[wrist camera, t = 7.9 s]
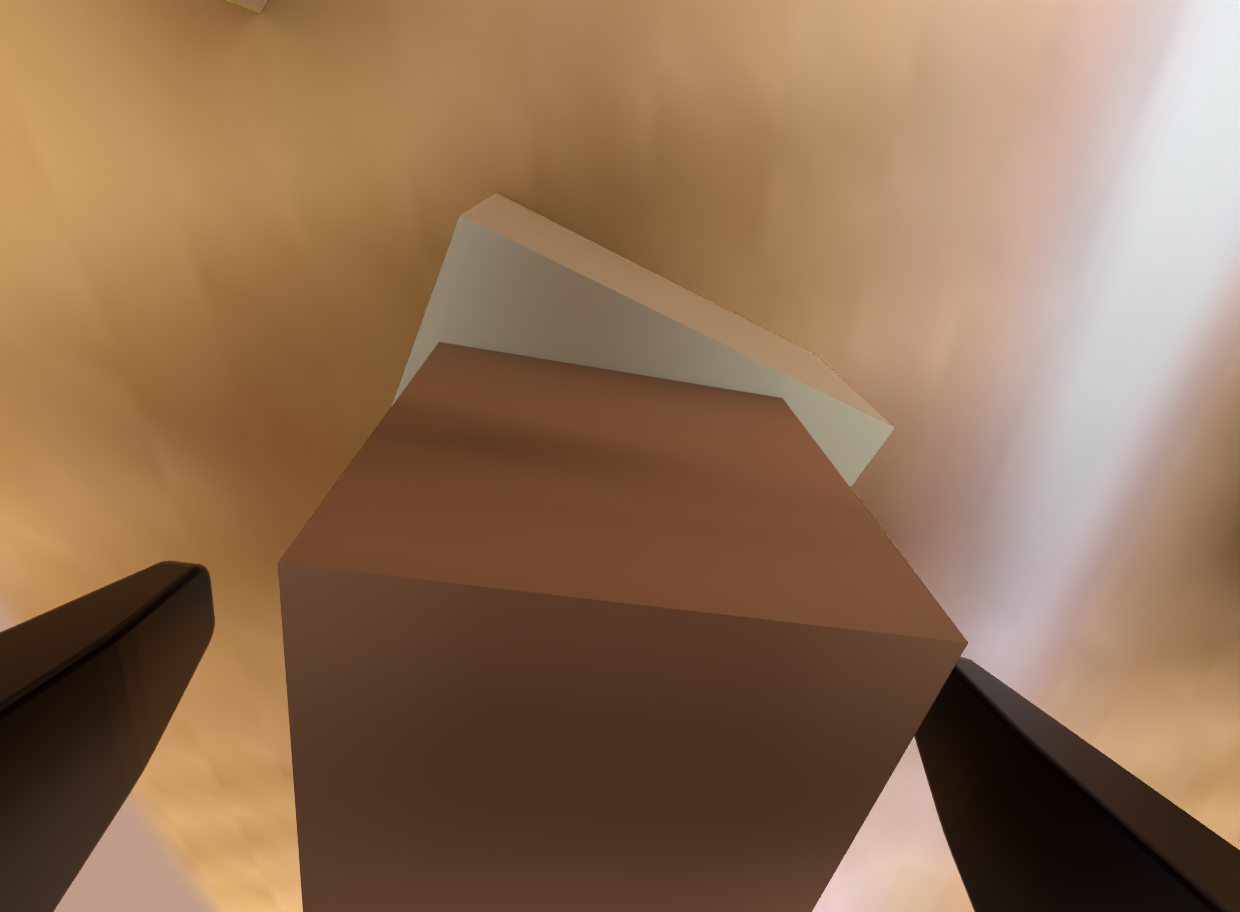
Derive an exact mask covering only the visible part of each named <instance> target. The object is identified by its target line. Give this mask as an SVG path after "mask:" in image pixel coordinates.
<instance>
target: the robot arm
mask: <svg viewBox="0 0 1240 912" xmlns="http://www.w3.org/2000/svg"><path fill="white" fill-rule="evenodd" d="M214 626H215V616H214V607H213V598H212V589H211V580H210V574H209V571H208V570H207V568H206V567H205V566H203V565H200V564H194V563H186V562H178V561H163V562H160V563H157V564H155V565H153V566H150V567H148V568H146V569H143V570H141V571H139V572H137V573H134V574H132V575H130V576H128V577H125V578H123V579H121V580H118V581H116V582H114V583H112V584H109V585H107V586H105V587H103V588H100V589H98V590H96V591H93V592H91V593H89V594H87V595H84V596H82V597H80V598H77V599H75V600H73V601H71V602H68V603H66V604H64V605H62V606H59V607H57V608H55V609H52V610H50V611H48V612H46V613H43V614H41V615H39V616H37V617H34V618H32V619H30V620H27V621H25V622H23V623H21V624H18V625H16V626H14V627H12V628H9V629H7V630H5V631H2V632H0V912H54V910H55V909H56V907H57V905H58V904H59V902H60V901H61V899H62V897H63V896H64V894H65V893H66V891H67V890H68V888H69V887H70V885H71V884H72V882H73V881H74V879H75V878H76V876H77V874H78V873H79V871H80V870H81V868H82V867H83V865H84V864H85V862H86V860H87V859H88V857H89V856H90V854H91V853H92V851H93V850H94V848H95V846H96V845H97V843H98V842H99V840H100V839H101V837H102V836H103V834H104V833H105V831H106V829H107V828H108V826H109V825H110V823H111V822H112V820H113V819H114V817H115V815H116V814H117V812H118V811H119V809H120V808H121V806H122V805H123V803H124V802H125V800H126V798H127V797H128V795H129V794H130V792H131V791H132V789H133V787H134V786H135V784H136V782H137V781H138V779H139V777H140V776H141V774H142V773H143V771H144V769H145V767H146V765H147V764H148V762H149V760H150V758H151V756H152V754H153V752H154V751H155V749H156V747H157V745H158V743H159V741H160V739H161V737H162V735H163V733H164V731H165V729H166V727H167V725H168V723H169V721H170V719H171V717H172V715H173V713H174V711H175V710H176V708H177V706H178V704H179V702H180V700H181V698H182V696H183V694H184V692H185V690H186V688H187V686H188V684H189V682H190V680H191V678H192V676H193V674H194V672H195V670H196V668H197V666H198V664H199V662H200V660H201V658H202V657H203V655H204V653H205V651H206V649H207V647H208V645H209V643H210V640H211V638H212V635H213V631H214ZM914 736H915V740H916V743H917V746H918V750H919V753H920V756H921V760H922V763H923V766H924V770H925V773H926V776H927V780H928V783H929V786H930V790H931V793H932V796H933V800H934V803H935V807H936V810H937V813H938V816H939V819H940V822H941V826H942V829H943V832H944V835H945V837H946V840H947V843H948V845H949V848H950V851H951V854H952V856H953V859H954V861H955V864H956V866H957V869H958V871H959V874H960V876H961V879H962V881H963V884H964V886H965V889H966V891H967V894H968V896H969V899H970V901H971V904H972V906H973V909H974V912H1240V850H1238V849H1237V848H1236V847H1234V846H1233V845H1231V844H1230V843H1229V842H1227V841H1226V840H1224V839H1223V838H1222V837H1220V836H1219V835H1217V834H1216V833H1214V832H1213V831H1212V830H1210V829H1209V828H1207V827H1206V826H1205V825H1203V824H1202V823H1200V822H1199V821H1198V820H1196V819H1195V818H1193V817H1192V816H1190V815H1189V814H1188V813H1186V812H1185V811H1183V810H1182V809H1181V808H1179V807H1178V806H1176V805H1175V804H1174V803H1172V802H1171V801H1169V800H1168V799H1166V798H1165V797H1164V796H1162V795H1161V794H1159V793H1158V792H1157V791H1155V790H1154V789H1152V788H1151V787H1150V786H1148V785H1147V784H1145V783H1144V782H1142V781H1141V780H1140V779H1138V778H1137V777H1135V776H1134V775H1133V774H1131V773H1130V772H1128V771H1127V770H1126V769H1124V768H1123V767H1121V766H1120V765H1118V764H1117V763H1116V762H1114V761H1113V760H1111V759H1110V758H1109V757H1107V756H1106V755H1104V754H1103V753H1102V752H1100V751H1099V750H1097V749H1096V748H1094V747H1093V746H1092V745H1090V744H1089V743H1087V742H1086V741H1085V740H1083V739H1082V738H1080V737H1079V736H1078V735H1076V734H1075V733H1073V732H1072V731H1070V730H1069V729H1068V728H1066V727H1065V726H1063V725H1062V724H1061V723H1059V722H1058V721H1056V720H1055V719H1054V718H1052V717H1051V716H1049V715H1048V714H1046V713H1045V712H1044V711H1042V710H1041V709H1039V708H1038V707H1037V706H1035V705H1034V704H1032V703H1031V702H1030V701H1028V700H1027V699H1025V698H1024V697H1022V696H1021V695H1020V694H1018V693H1017V692H1015V691H1014V690H1013V689H1011V688H1010V687H1008V686H1007V685H1006V684H1004V683H1003V682H1001V681H1000V680H998V679H997V678H996V677H994V676H993V675H991V674H990V673H989V672H987V671H986V670H984V669H983V668H982V667H980V666H979V665H977V664H976V663H974V662H973V661H971V660H969V659H967V658H963V657H960V658H959V659H958V661H957V663H956V665H955V666H954V668H953V670H952V671H951V673H950V675H949V677H948V678H947V680H946V682H945V683H944V685H943V687H942V689H941V690H940V692H939V694H938V695H937V697H936V699H935V701H934V702H933V704H932V706H931V708H930V709H929V711H928V713H927V714H926V716H925V718H924V720H923V721H922V723H921V725H920V726H919V728H918V730H917V732H916V733H915V735H914Z"/></svg>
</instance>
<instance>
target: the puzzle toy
mask: <svg viewBox="0 0 1240 912" xmlns="http://www.w3.org/2000/svg"><path fill="white" fill-rule="evenodd" d="M224 1H227V2H229V3H232V4H235V5H237V6H240V7H242V8H245V9H247V10H250V11H252V12H255V13H257V14H260V13H261V11H262V10H263V8H264V6H265V5H266V3H267V1H268V0H224Z"/></svg>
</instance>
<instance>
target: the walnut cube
mask: <svg viewBox="0 0 1240 912" xmlns="http://www.w3.org/2000/svg"><path fill="white" fill-rule="evenodd" d="M278 571H279V585H280V599H281V613H282V626H283V640H284V654H285V668H286V682H287V695H288V709H289V723H290V737H291V751H292V764H293V778H294V792H295V806H296V820H297V833H298V847H299V861H300V875H301V889H302V902H303V912H812V910H813V909H814V907H815V905H816V903H817V902H818V900H819V898H820V897H821V895H822V893H823V891H824V890H825V888H826V886H827V885H828V883H829V881H830V879H831V878H832V876H833V874H834V873H835V871H836V869H837V867H838V866H839V864H840V862H841V861H842V859H843V857H844V855H845V854H846V852H847V850H848V848H849V847H850V845H851V843H852V842H853V840H854V838H855V836H856V835H857V833H858V831H859V830H860V828H861V826H862V824H863V823H864V821H865V819H866V818H867V816H868V814H869V812H870V811H871V809H872V807H873V805H874V804H875V802H876V800H877V799H878V797H879V795H880V793H881V792H882V790H883V788H884V787H885V785H886V783H887V781H888V780H889V778H890V776H891V775H892V773H893V771H894V769H895V768H896V766H897V764H898V763H899V761H900V759H901V757H902V756H903V754H904V752H905V750H906V749H907V747H908V745H909V744H910V742H911V740H912V738H913V737H914V735H915V733H916V732H917V730H918V728H919V726H920V725H921V723H922V721H923V720H924V718H925V716H926V714H927V713H928V711H929V709H930V708H931V706H932V704H933V702H934V701H935V699H936V697H937V695H938V694H939V692H940V690H941V689H942V687H943V685H944V683H945V682H946V680H947V678H948V677H949V675H950V673H951V671H952V670H953V668H954V666H955V665H956V663H957V661H958V659H959V658H960V656H961V654H962V653H963V651H964V649H965V647H966V646H967V644H968V642H967V641H966V639H965V638H964V637H963V635H962V634H961V633H960V631H959V630H958V629H957V627H956V626H955V625H954V623H953V622H952V621H951V619H950V618H949V617H948V616H947V614H946V613H945V612H944V610H943V609H942V608H941V606H940V605H939V604H938V602H937V601H936V600H935V598H934V597H933V596H932V594H931V593H930V592H929V590H928V589H927V588H926V587H925V585H924V584H923V583H922V581H921V580H920V579H919V577H918V576H917V575H916V573H915V572H914V571H913V569H912V568H911V567H910V565H909V564H908V563H907V561H906V560H905V559H904V558H903V556H902V555H901V554H900V552H899V551H898V550H897V548H896V547H895V546H894V544H893V543H892V542H891V540H890V539H889V538H888V536H887V535H886V534H885V532H884V531H883V530H882V529H881V527H880V526H879V525H878V523H877V522H876V521H875V519H874V518H873V517H872V515H871V514H870V513H869V511H868V510H867V509H866V507H865V506H864V505H863V503H862V502H861V501H860V500H859V498H858V497H857V496H856V494H855V493H854V492H853V490H852V489H851V488H850V486H849V485H848V484H847V482H846V481H845V480H844V478H843V477H842V476H841V474H840V473H839V472H838V470H837V469H836V468H835V467H834V465H833V464H832V463H831V461H830V460H829V459H828V457H827V456H826V455H825V453H824V452H823V451H822V449H821V448H820V447H819V445H818V444H817V443H816V441H815V440H814V439H813V438H812V436H811V435H810V434H809V432H808V431H807V430H806V428H805V427H804V426H803V424H802V423H801V422H800V420H799V419H798V418H797V416H796V415H795V414H794V412H793V411H792V410H791V409H790V407H789V406H788V405H787V403H786V402H785V401H784V399H783V398H778V397H772V396H766V395H760V394H754V393H748V392H741V391H735V390H729V389H723V388H717V387H711V386H705V385H699V384H693V383H687V382H680V381H674V380H668V379H662V378H656V377H650V376H644V375H638V374H632V373H626V372H620V371H613V370H607V369H601V368H595V367H589V366H583V365H577V364H571V363H565V362H559V361H552V360H546V359H540V358H534V357H528V356H522V355H516V354H510V353H504V352H498V351H492V350H485V349H479V348H473V347H467V346H461V345H455V344H449V343H443V342H438V344H437V345H436V346H435V348H434V349H433V351H432V352H431V353H430V355H429V356H428V357H427V359H426V360H425V362H424V363H423V364H422V366H421V367H420V368H419V370H418V371H417V373H416V374H415V375H414V377H413V378H412V379H411V381H410V382H409V384H408V385H407V386H406V388H405V389H404V390H403V392H402V393H401V395H400V396H399V397H398V399H397V400H396V401H395V403H394V404H393V406H392V407H391V408H390V410H389V411H388V412H387V414H386V415H385V417H384V418H383V419H382V421H381V422H380V423H379V425H378V426H377V427H376V429H375V430H374V432H373V433H372V434H371V436H370V437H369V438H368V440H367V441H366V443H365V444H364V445H363V447H362V448H361V449H360V451H359V452H358V454H357V455H356V456H355V458H354V459H353V460H352V462H351V463H350V465H349V466H348V467H347V469H346V470H345V471H344V473H343V474H342V476H341V477H340V478H339V480H338V481H337V482H336V484H335V485H334V487H333V488H332V489H331V491H330V492H329V493H328V495H327V496H326V498H325V499H324V500H323V502H322V503H321V504H320V506H319V507H318V509H317V510H316V511H315V513H314V514H313V515H312V517H311V518H310V520H309V521H308V522H307V524H306V525H305V526H304V528H303V529H302V531H301V532H300V533H299V535H298V536H297V537H296V539H295V540H294V542H293V543H292V544H291V546H290V547H289V548H288V550H287V551H286V553H285V554H284V555H283V557H282V558H281V559H280V561H279V562H278Z"/></svg>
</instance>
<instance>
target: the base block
mask: <svg viewBox="0 0 1240 912" xmlns="http://www.w3.org/2000/svg"><path fill="white" fill-rule="evenodd" d="M438 342H443V343H449V344H455V345H461V346H467V347H473V348H479V349H485V350H492V351H498V352H504V353H510V354H516V355H522V356H528V357H534V358H540V359H546V360H552V361H559V362H565V363H571V364H577V365H583V366H589V367H595V368H601V369H607V370H613V371H620V372H626V373H632V374H638V375H644V376H650V377H656V378H662V379H668V380H674V381H680V382H687V383H693V384H699V385H705V386H711V387H717V388H723V389H729V390H735V391H741V392H748V393H754V394H760V395H766V396H772V397H778V398H783V399H784V401H785V402H786V403H787V405H788V406H789V407H790V409H791V410H792V411H793V412H794V414H795V415H796V416H797V418H798V419H799V420H800V422H801V423H802V424H803V426H804V427H805V428H806V430H807V431H808V432H809V434H810V435H811V436H812V438H813V439H814V440H815V441H816V443H817V444H818V445H819V447H820V448H821V449H822V451H823V452H824V453H825V455H826V456H827V457H828V459H829V460H830V461H831V463H832V464H833V465H834V467H835V468H836V469H837V470H838V472H839V473H840V474H841V476H842V477H843V478H844V480H845V481H846V482H847V484H848V485H849V486H850V488H851V487H852V485H853V484H854V483H855V481H856V480H857V479H858V477H859V476H860V475H861V473H862V472H863V471H864V469H865V468H866V466H867V465H868V464H869V462H870V461H871V460H872V458H873V457H874V456H875V454H876V453H877V452H878V450H879V449H880V448H881V446H882V445H883V444H884V442H885V441H886V440H887V438H888V437H889V436H890V434H891V433H892V432H893V430H894V429H895V427H893V426H892V425H891V424H890V423H889V422H888V421H887V420H886V419H885V418H884V417H883V416H882V415H880V414H879V413H878V412H877V411H876V410H875V409H874V408H873V407H872V406H871V405H870V404H868V403H867V402H866V401H865V400H864V399H863V398H862V397H861V396H860V395H859V394H858V393H856V392H855V391H854V390H853V389H852V388H851V387H850V386H849V385H848V384H847V383H846V382H845V381H843V380H842V379H841V378H840V377H839V376H838V375H837V374H836V373H835V372H834V371H833V370H831V369H830V368H829V367H828V366H827V365H826V364H825V363H824V362H823V361H822V360H821V359H819V358H818V357H817V356H816V355H815V354H814V353H812V352H810V351H808V350H806V349H804V348H802V347H800V346H798V345H796V344H794V343H792V342H790V341H788V340H786V339H784V338H782V337H780V336H778V335H776V334H774V333H772V332H770V331H768V330H766V329H764V328H762V327H760V326H758V325H756V324H755V323H753V322H751V321H749V320H747V319H745V318H743V317H741V316H739V315H737V314H735V313H733V312H731V311H729V310H727V309H725V308H723V307H721V306H719V305H717V304H715V303H713V302H711V301H709V300H707V299H705V298H703V297H701V296H699V295H697V294H695V293H693V292H691V291H689V290H687V289H685V288H683V287H681V286H679V285H678V284H676V283H674V282H672V281H670V280H668V279H666V278H664V277H662V276H660V275H658V274H656V273H654V272H652V271H650V270H648V269H646V268H644V267H642V266H640V265H638V264H636V263H634V262H632V261H630V260H628V259H626V258H624V257H622V256H620V255H618V254H616V253H614V252H612V251H610V250H608V249H606V248H604V247H602V246H601V245H599V244H597V243H595V242H593V241H591V240H589V239H587V238H585V237H583V236H581V235H579V234H577V233H575V232H573V231H571V230H569V229H567V228H565V227H563V226H561V225H559V224H557V223H555V222H553V221H551V220H549V219H547V218H545V217H543V216H541V215H539V214H537V213H535V212H533V211H531V210H529V209H527V208H525V207H523V206H522V205H520V204H518V203H516V202H514V201H512V200H510V199H508V198H506V197H504V196H502V195H500V194H498V193H495V194H494V195H492V196H490V197H489V198H487V199H485V200H484V201H482V202H481V203H479V204H477V205H476V206H474V207H472V208H471V209H469V210H467V211H466V212H464V213H462V214H461V215H460V216H459V219H458V222H457V225H456V228H455V230H454V233H453V236H452V239H451V242H450V244H449V247H448V250H447V253H446V255H445V258H444V261H443V264H442V267H441V269H440V272H439V275H438V278H437V281H436V283H435V286H434V289H433V292H432V295H431V297H430V300H429V303H428V306H427V309H426V311H425V314H424V317H423V320H422V323H421V325H420V328H419V331H418V334H417V336H416V339H415V342H414V345H413V348H412V350H411V353H410V356H409V359H408V362H407V364H406V367H405V370H404V373H403V376H402V378H401V381H400V384H399V387H398V390H397V392H396V395H395V398H394V401H393V404H394V403H395V401H396V400H397V399H398V397H399V396H400V395H401V393H402V392H403V390H404V389H405V388H406V386H407V385H408V384H409V382H410V381H411V379H412V378H413V377H414V375H415V374H416V373H417V371H418V370H419V368H420V367H421V366H422V364H423V363H424V362H425V360H426V359H427V357H428V356H429V355H430V353H431V352H432V351H433V349H434V348H435V346H436V345H437V344H438ZM393 404H392V406H393ZM392 406H391V407H392Z"/></svg>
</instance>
